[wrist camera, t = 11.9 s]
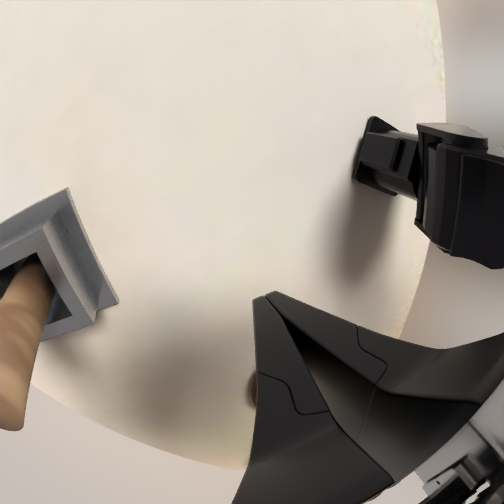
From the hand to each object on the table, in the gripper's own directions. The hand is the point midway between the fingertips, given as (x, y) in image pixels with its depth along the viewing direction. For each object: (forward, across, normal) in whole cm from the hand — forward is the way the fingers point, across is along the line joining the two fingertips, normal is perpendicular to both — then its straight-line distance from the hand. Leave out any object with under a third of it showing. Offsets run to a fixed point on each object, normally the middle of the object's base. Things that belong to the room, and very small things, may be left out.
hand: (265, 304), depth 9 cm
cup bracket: (+13, +14, +1) cm, 19 cm away
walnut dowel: (+12, +14, +1) cm, 19 cm away
